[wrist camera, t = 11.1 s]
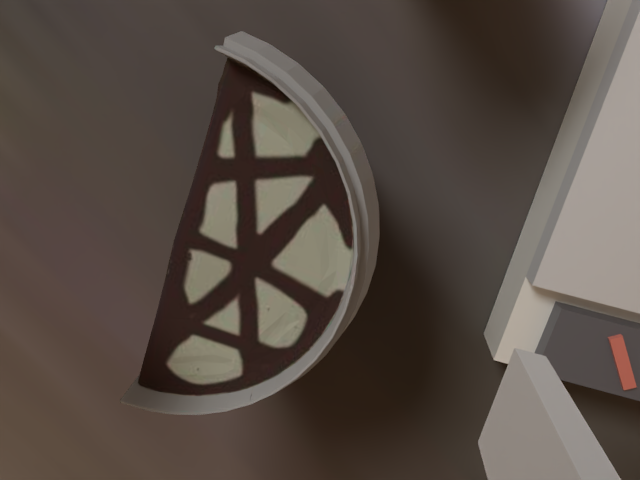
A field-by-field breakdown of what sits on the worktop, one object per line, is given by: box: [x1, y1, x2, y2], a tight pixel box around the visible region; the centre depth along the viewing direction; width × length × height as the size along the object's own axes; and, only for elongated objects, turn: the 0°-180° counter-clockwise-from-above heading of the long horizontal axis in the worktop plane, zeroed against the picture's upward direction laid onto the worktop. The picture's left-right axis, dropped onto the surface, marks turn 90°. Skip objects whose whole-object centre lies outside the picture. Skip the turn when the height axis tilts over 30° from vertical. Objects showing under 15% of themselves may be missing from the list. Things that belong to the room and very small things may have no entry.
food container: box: [120, 31, 380, 415], centre depth 20 cm, size 12×6×10 cm, turn 161°
